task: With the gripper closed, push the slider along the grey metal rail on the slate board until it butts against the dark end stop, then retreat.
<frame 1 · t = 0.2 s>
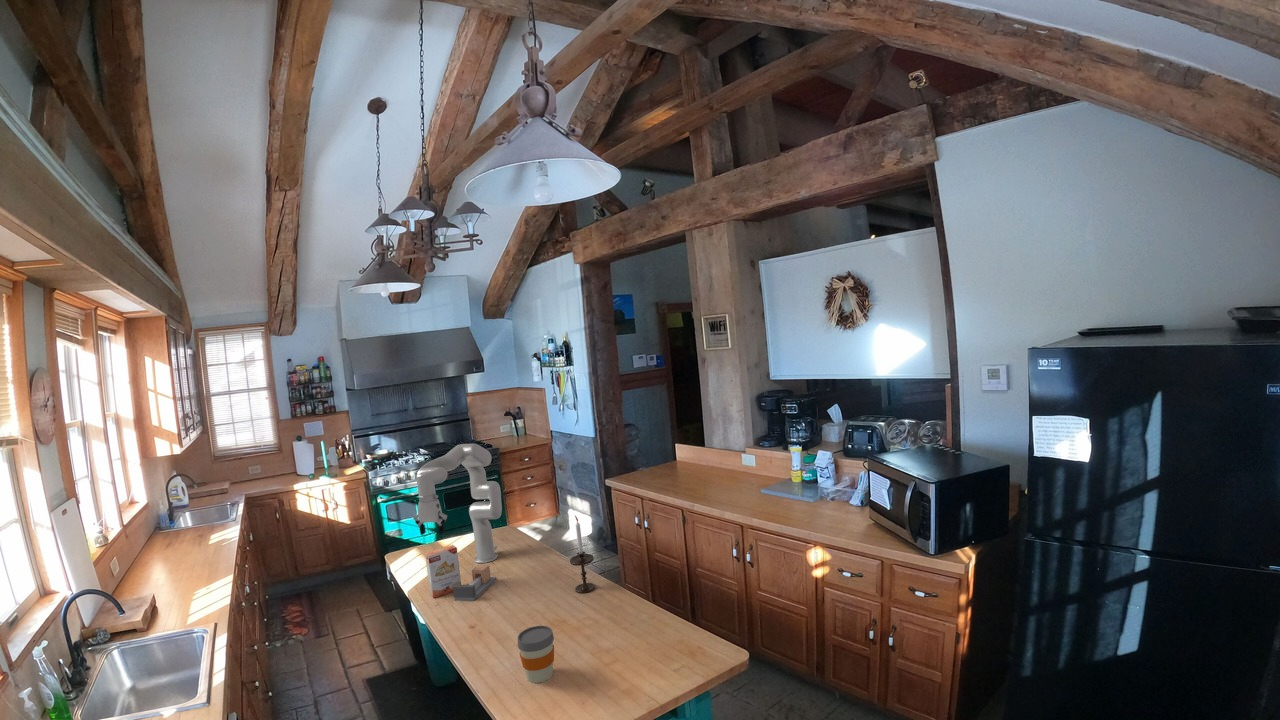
hand: (432, 533, 287), 31 cm above the kitchen island, fingers open, 9 cm apart
candlestick: (585, 589, 280), on the kitchen island
track: (476, 589, 292), on the kitchen island
slider: (481, 574, 298), point 5 cm above the kitchen island, slide at 0.0 cm
reusable coffee cup: (540, 676, 214), on the kitchen island
cracker box: (446, 592, 294), on the kitchen island
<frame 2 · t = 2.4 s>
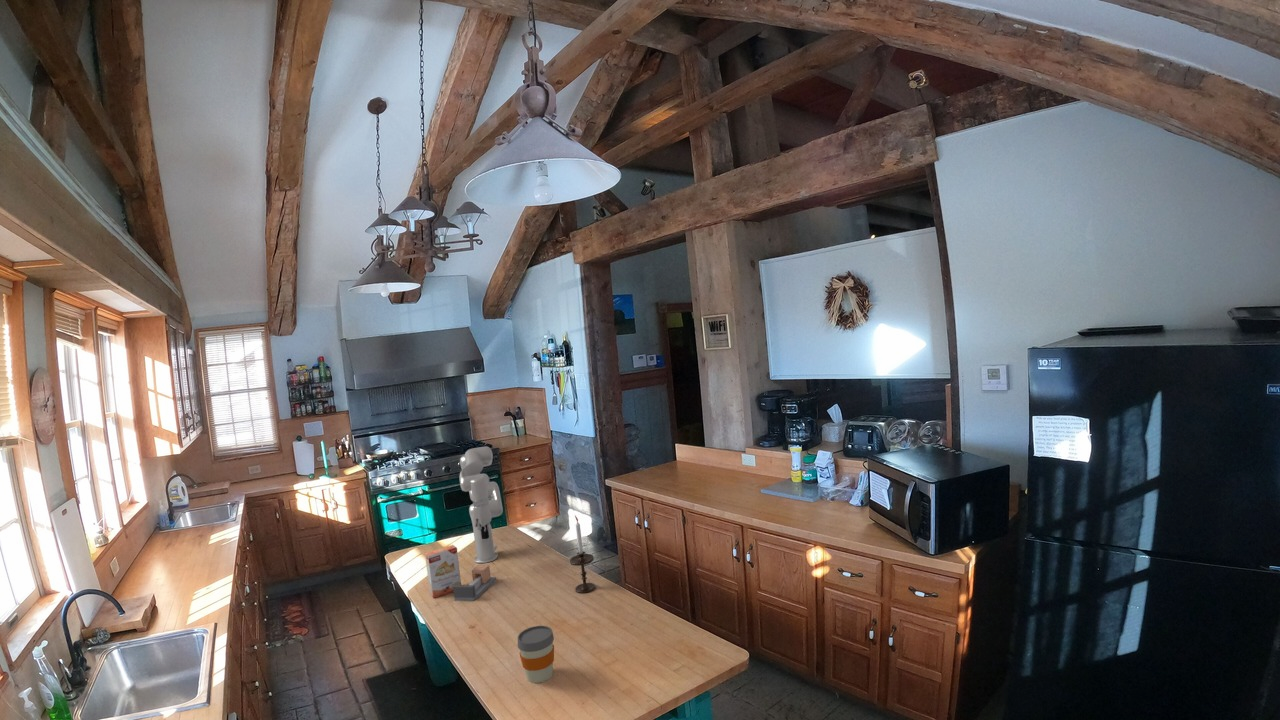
hand: (485, 538, 304), 20 cm above the kitchen island, fingers closed
nothing on the kitchen island moved.
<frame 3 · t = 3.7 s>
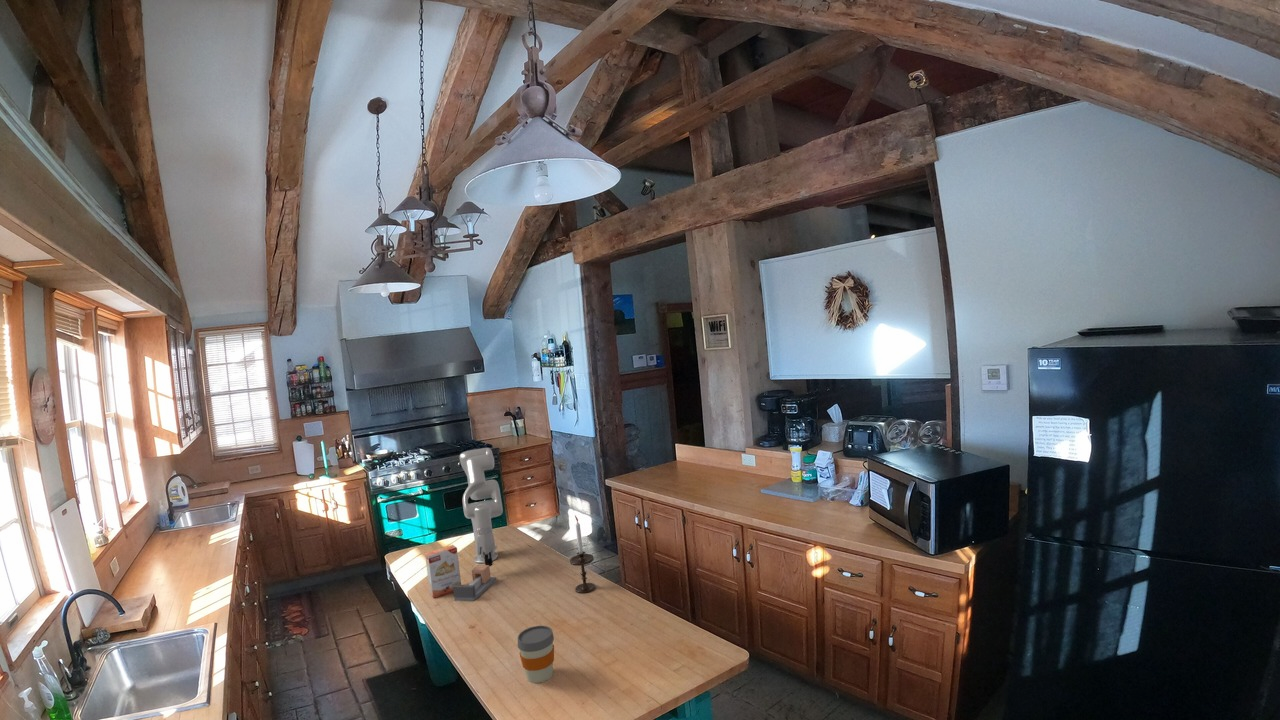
hand: (489, 565, 305), 6 cm above the kitchen island, fingers closed
nothing on the kitchen island moved.
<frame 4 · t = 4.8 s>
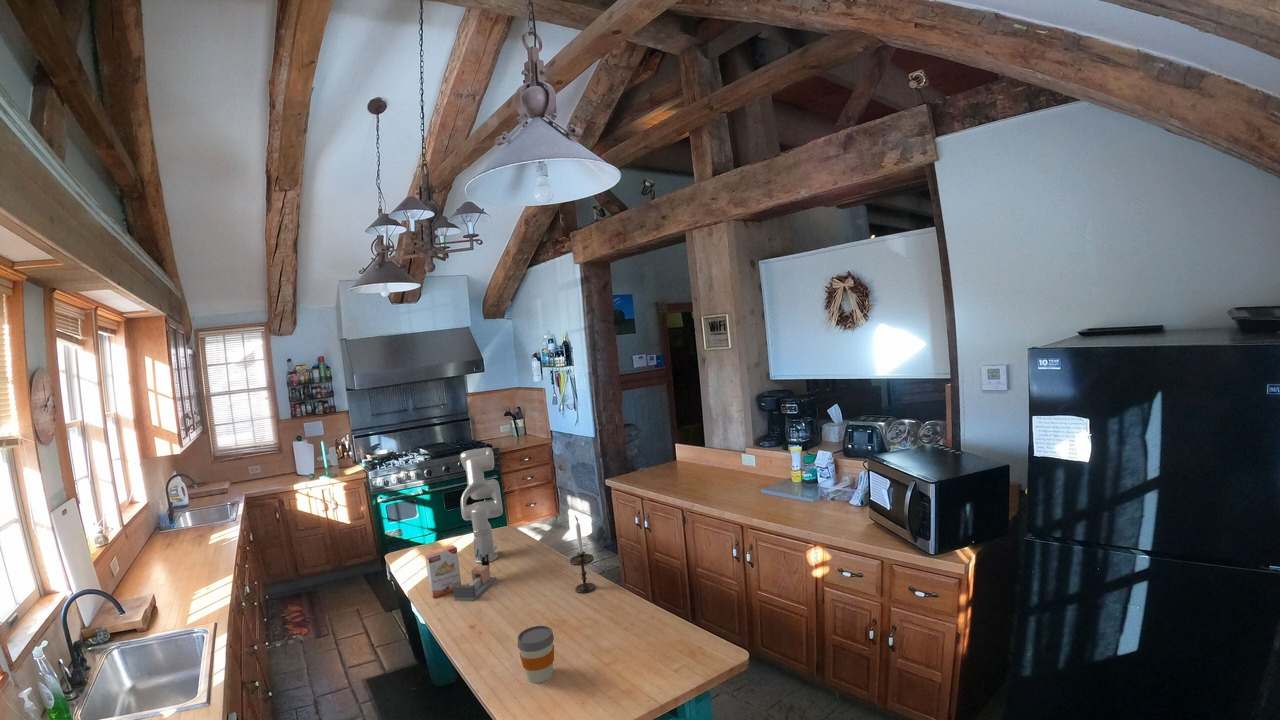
hand: (486, 568, 302), 6 cm above the kitchen island, fingers closed
slider: (481, 574, 298), point 5 cm above the kitchen island, slide at 0.2 cm, touching gripper
everything else where it was.
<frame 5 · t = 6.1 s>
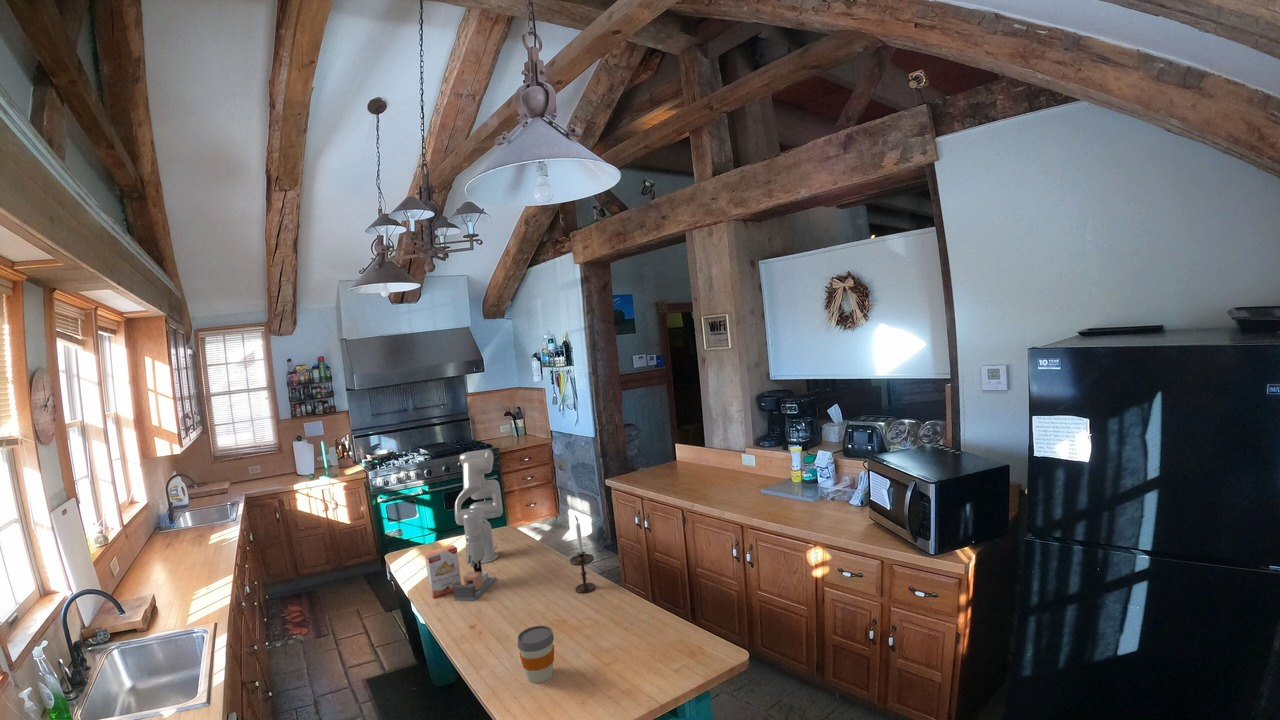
hand: (478, 574, 295), 6 cm above the kitchen island, fingers closed
slider: (473, 581, 291), point 5 cm above the kitchen island, slide at 7.6 cm, touching gripper
everything else where it was.
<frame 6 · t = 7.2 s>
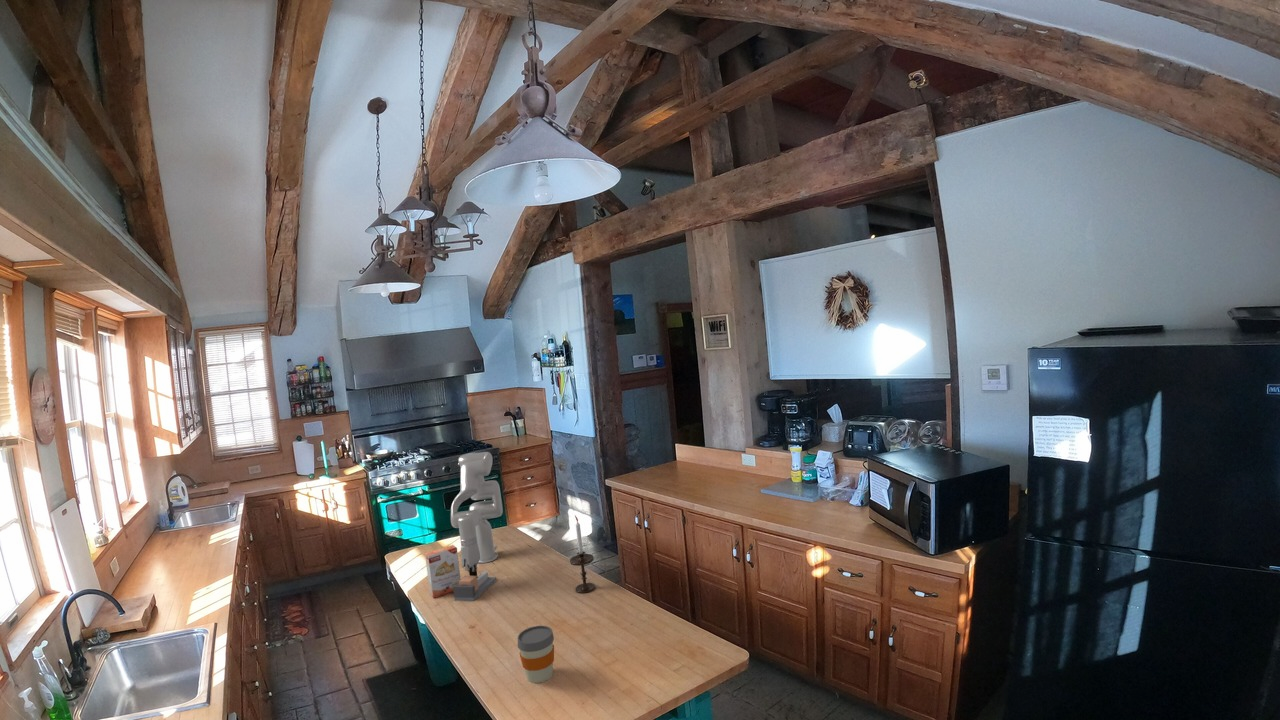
hand: (473, 578, 291), 6 cm above the kitchen island, fingers closed
slider: (468, 585, 286), point 5 cm above the kitchen island, slide at 12.0 cm, touching gripper, track
everything else where it was.
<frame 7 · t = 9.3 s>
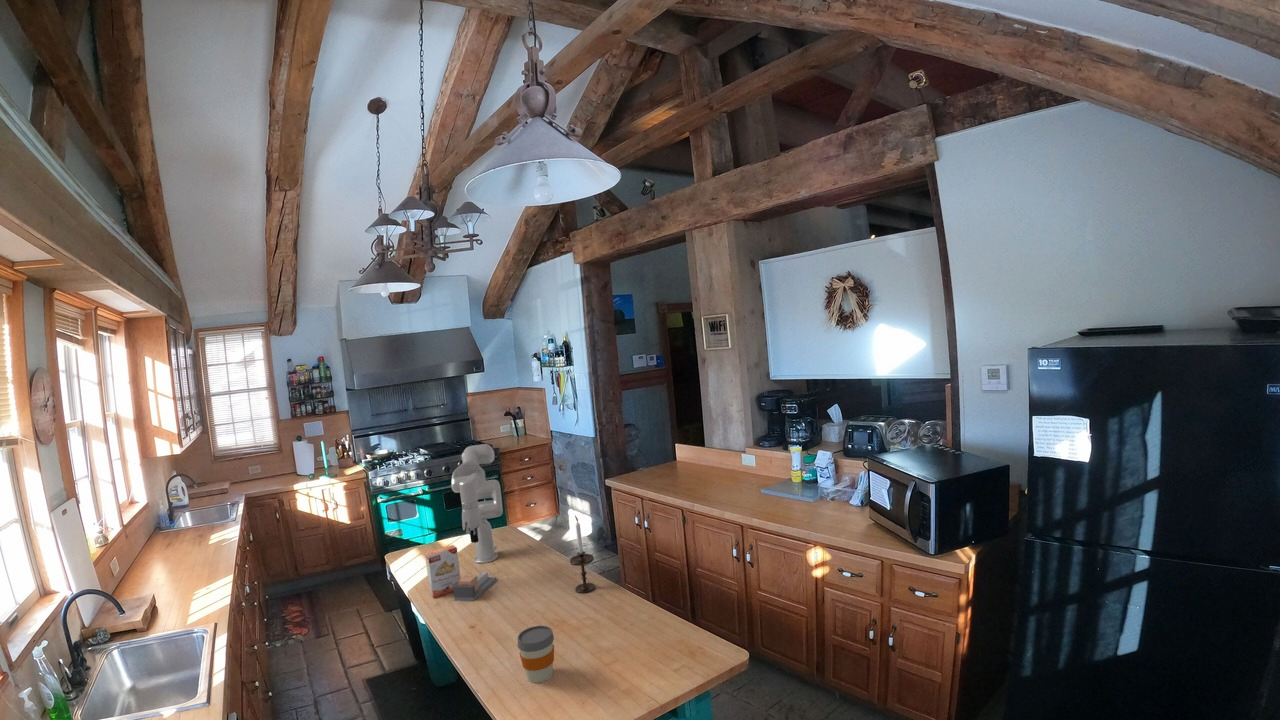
hand: (474, 541, 295), 22 cm above the kitchen island, fingers closed
slider: (468, 585, 286), point 5 cm above the kitchen island, slide at 12.0 cm, touching track
everything else where it was.
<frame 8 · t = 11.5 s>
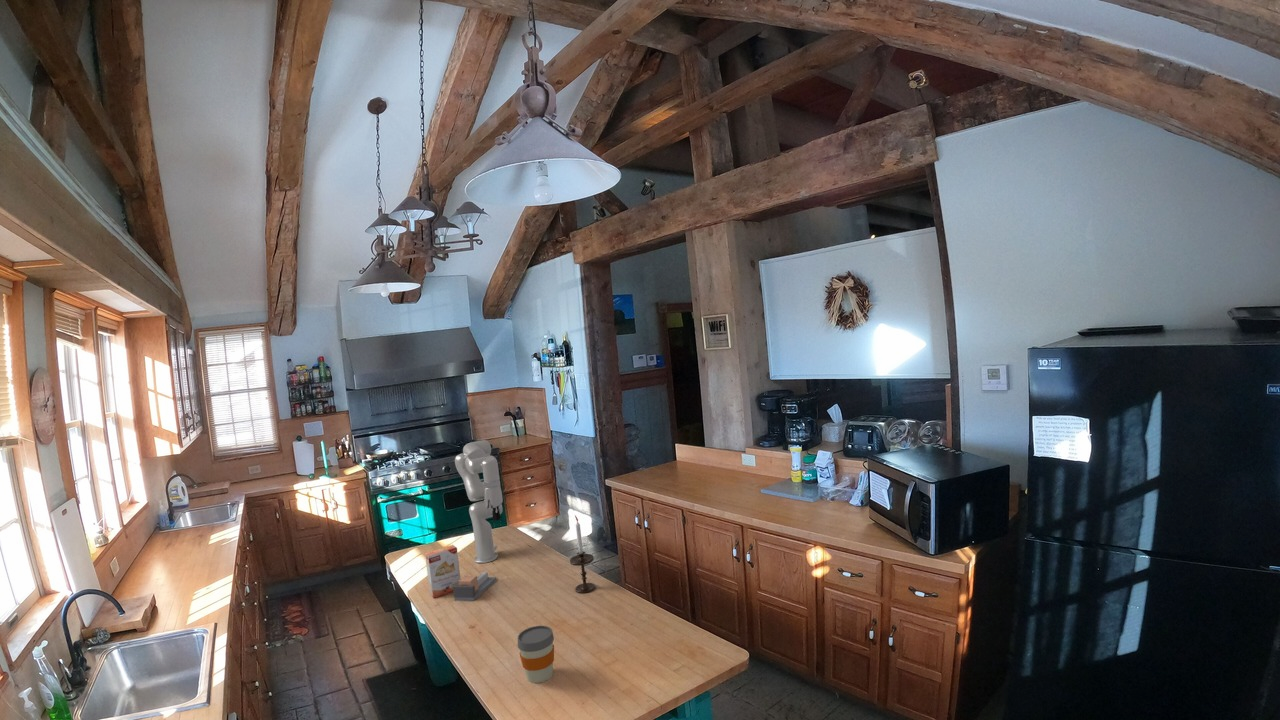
hand: (496, 519, 303), 29 cm above the kitchen island, fingers closed
nothing on the kitchen island moved.
at the end: slider slide at 12.0 cm; cracker box moved 0.2 cm from its start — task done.
